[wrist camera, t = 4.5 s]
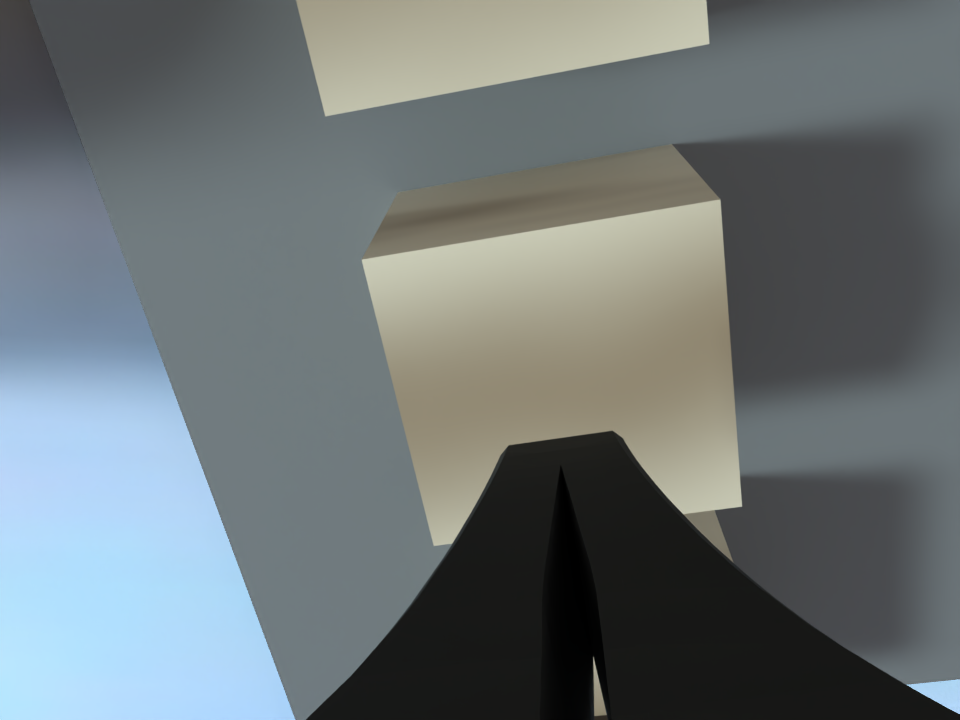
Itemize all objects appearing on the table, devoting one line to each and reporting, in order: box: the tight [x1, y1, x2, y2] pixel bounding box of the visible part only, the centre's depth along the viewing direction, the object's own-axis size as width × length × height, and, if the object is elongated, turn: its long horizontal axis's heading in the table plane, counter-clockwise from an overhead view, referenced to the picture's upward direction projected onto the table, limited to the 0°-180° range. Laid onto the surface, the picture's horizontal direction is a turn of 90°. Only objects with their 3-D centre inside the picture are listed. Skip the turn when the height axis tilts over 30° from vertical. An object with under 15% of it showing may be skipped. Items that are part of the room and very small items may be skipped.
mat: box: [29, 0, 960, 720], centre depth 17 cm, size 22×16×1 cm
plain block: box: [362, 144, 742, 546], centre depth 15 cm, size 5×5×4 cm
